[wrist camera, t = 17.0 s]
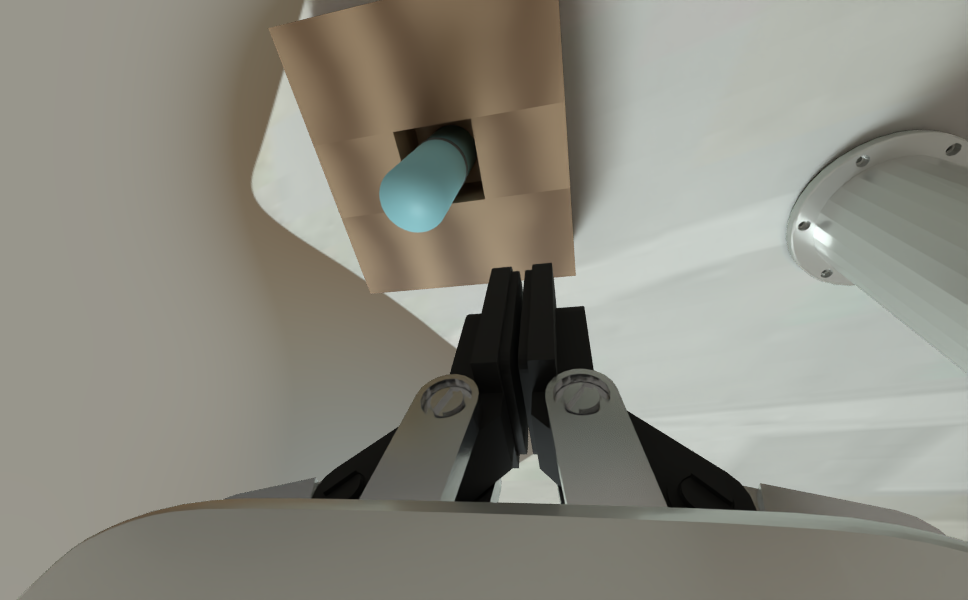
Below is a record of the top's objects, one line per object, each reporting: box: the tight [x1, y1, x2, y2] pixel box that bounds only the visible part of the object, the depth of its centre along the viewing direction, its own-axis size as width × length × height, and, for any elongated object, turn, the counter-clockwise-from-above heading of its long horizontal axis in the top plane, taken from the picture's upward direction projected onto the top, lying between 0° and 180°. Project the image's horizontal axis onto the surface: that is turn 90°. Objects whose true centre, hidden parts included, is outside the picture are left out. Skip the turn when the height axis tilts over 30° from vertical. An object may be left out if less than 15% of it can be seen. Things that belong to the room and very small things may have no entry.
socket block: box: [269, 0, 576, 294], centre depth 31 cm, size 18×20×6 cm
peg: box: [379, 125, 477, 233], centre depth 28 cm, size 4×4×12 cm
